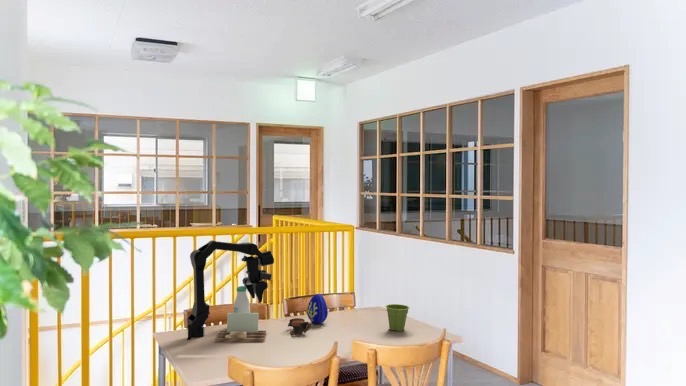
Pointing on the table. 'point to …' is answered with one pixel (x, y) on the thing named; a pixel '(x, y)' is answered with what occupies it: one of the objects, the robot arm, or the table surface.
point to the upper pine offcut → (238, 333)
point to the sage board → (242, 322)
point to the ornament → (317, 309)
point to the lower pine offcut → (233, 337)
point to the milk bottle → (241, 301)
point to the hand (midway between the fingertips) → (257, 300)
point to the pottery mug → (298, 326)
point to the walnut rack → (251, 337)
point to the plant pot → (397, 316)
